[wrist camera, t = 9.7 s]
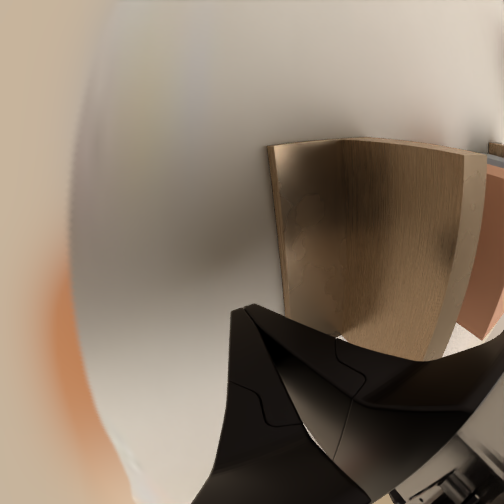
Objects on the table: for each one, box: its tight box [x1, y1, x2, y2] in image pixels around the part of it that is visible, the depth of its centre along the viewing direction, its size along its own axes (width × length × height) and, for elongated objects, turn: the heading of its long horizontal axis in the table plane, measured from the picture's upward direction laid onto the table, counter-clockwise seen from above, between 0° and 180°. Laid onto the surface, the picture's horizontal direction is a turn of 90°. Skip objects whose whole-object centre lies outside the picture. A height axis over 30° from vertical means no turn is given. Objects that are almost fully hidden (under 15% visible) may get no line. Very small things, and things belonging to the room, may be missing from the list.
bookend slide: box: [267, 137, 487, 361], centre depth 10 cm, size 10×5×6 cm, turn 6°
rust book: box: [456, 164, 504, 340], centre depth 11 cm, size 8×4×7 cm, turn 6°
